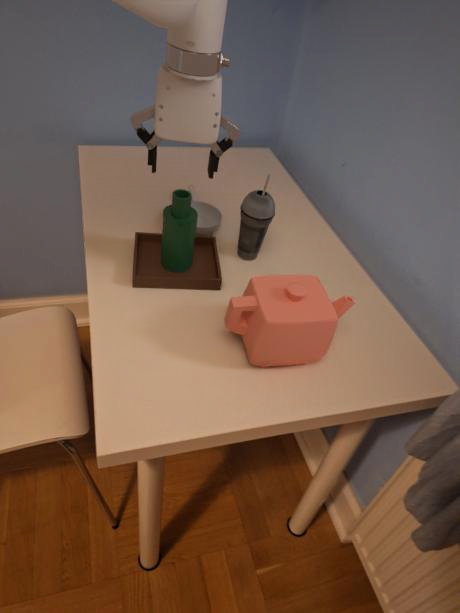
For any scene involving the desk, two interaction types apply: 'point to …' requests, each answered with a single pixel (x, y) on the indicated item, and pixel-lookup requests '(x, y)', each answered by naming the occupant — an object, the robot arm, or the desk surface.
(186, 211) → the bottle
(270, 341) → the teapot
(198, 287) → the tray
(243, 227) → the beverage cup
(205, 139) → the robot arm
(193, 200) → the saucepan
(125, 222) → the desk surface
